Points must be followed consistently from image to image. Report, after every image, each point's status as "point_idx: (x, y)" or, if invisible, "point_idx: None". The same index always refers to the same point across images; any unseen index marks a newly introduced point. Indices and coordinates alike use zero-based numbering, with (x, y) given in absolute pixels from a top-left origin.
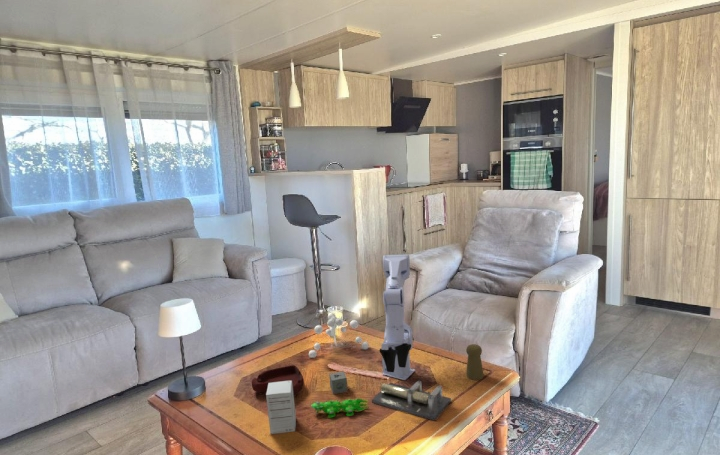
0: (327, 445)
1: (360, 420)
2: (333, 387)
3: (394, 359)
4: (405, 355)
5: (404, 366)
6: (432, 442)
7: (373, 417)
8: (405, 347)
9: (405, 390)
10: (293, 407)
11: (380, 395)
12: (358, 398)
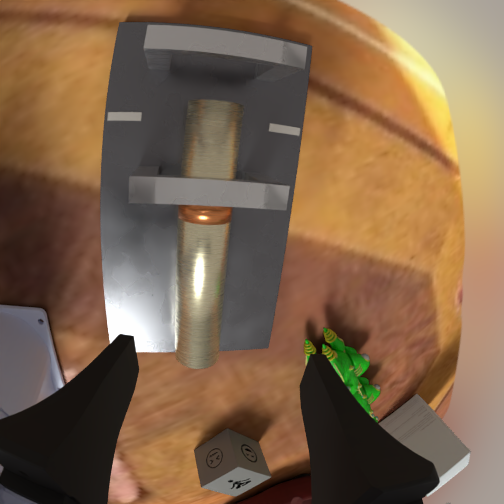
0: (456, 312)
1: (371, 311)
2: (262, 457)
3: (356, 423)
4: (94, 402)
5: (131, 341)
6: (413, 48)
7: (350, 285)
8: (70, 469)
9: (215, 241)
10: (432, 432)
11: (226, 337)
12: (341, 374)
